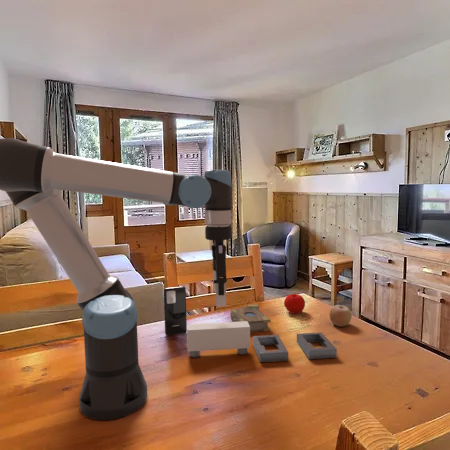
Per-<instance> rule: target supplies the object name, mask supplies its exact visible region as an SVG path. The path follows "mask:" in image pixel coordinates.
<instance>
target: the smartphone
mask: <svg viewBox="0 0 450 450" xmlns="http://www.w3.org/2000/svg"><path fill="white" fill-rule="evenodd" d="M186 290H187V288H186V286H173V287H165V288H164V289H163V309H164V312H163V313H164V314H163V315H164V334H165V335H166V336H172V335H173V336H174V335H180V334H181V335H182V334H187V324H188V322H187V321H188V320H187V293H186V292H187V291H186Z"/></svg>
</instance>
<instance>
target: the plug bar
mask: <svg viewBox="0 0 450 450" xmlns="http://www.w3.org/2000/svg"><path fill="white" fill-rule="evenodd" d="M186 338H187V340H186V341H187V352H188V353H189V357H190V358H198V357H200V356H201V352H203V351H218V350H219V351H220V350H221V351H222V350H236V351H237V354H238V355H246V354H248V349H251V332H250V326H249V323H248V321H241V322H234V321H226V322H225V321H223V322H209V323H208V322H205V323H187V332H186Z"/></svg>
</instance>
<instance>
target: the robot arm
mask: <svg viewBox="0 0 450 450" xmlns="http://www.w3.org/2000/svg"><path fill="white" fill-rule="evenodd" d="M232 188H233V184H232V174H231V172H230V171H229V170H227V169H207V170H205V171H204V175H203V176H202V175H200V174H196V173H192V174H191V173H190V174H188V173H181V172H173V171H168V170H164V169H163V170H162V169H158V168H152V167H151V168H149V167H143V166H138V165H133V164H132V165H131V164H125V163H119V162H112V161H106V160H99V159H94V158H87V157H83V156H74V155H69V154H62V153H57V152H55V151H54V150H53V149H52V147H48V146H43V145H38V144H33V143H31V142H27V141H24V140H20V139H18V138H13V137H5V138H3V137H2V138H0V190H1V191H3V192H5V193H6V194H7V196H8V198H9V199H10V201H11V202H12V204H13V206H14V207H15V208H17V209H20V210H24V211H26V213H27V214H28V216H29V217H30V219H31V220H32V222H33V224H34V225H35V227H36V228H37V230H38V232H39V233H40V234H41V236H42V238H43V239H44V240H45V242H46V244H47V246H48V247H49V248H50V251H52V253H53V255H54V256H55V258H56V260H57V261H58V263H59V264H60V266H61V267H62V269H63V271H64V273H66V275H67V277H68V278H69V280H70V281H71V283H72V284H73V286H74V288H75V289H76V291H77V292H78V293H77V297H76V303H77V305H78V306H79V308H80V310H81V311H82V316H81V317H82V318H81V324H82V327H83V338H84V339H83V340H84V341H83V343H84V359H85V363H84V364H85V375H84V379H83V382H82V386H81V390H80V393H79V401H78V402H79V410H80V413H81V414H82V415H83V416H85V418H86V417H87V418H89V419H90V420H91V419H92V420H95V421H97V420H99V421H109V420H116V419H120V418H123V417H126V416H127V415H131V414H132V413H134V412H135V411H137V410H139V409H141V407H142V406H143V405H144V404H145V403H146V401H147V399H148V385H147V381H146V379H145V376H144V375H143V372H142V369H141V366H140V364H139V341H138V340H139V338H138V310H137V307H136V304H135V303H136V302H135V301H134V298H133V296H132V294H131V293H130V292H129V291H128V290H127V289H126V288H125V287H124V286H123V283H122V281H121V280H120V278H119V277H118V276H116V275H112V274H110V273H108V271H107V269H106V267H105V266H104V264H103V262H102V261H101V259H100V258H99V256H98V255H97V254H98V253H97V252H96V251H95V249H94V248H93V246H92V244H91V242H90V241H89V239H88V238H87V236H86V234H85V233H84V231H83V230H82V228H81V225H80V224H79V222H78V221H77V220H76V218H75V216H74V215H73V213H72V212H71V210H70V208H69V206H68V205H67V203H66V202H65V200H64V198H63V197H62V194H61V191H67V192H76V193H82V194H88V195H89V194H90V195H97V196H98V195H99V196H105V197H113V198H120V199H121V198H122V199H128V200H136V201H142V202H143V201H144V202H151V203H152V202H153V203H160V204H163V205H165V206H173V207H175V206H181V207H187V208H191V209H198V208H201V207H202V206H204V224H205V225H206V226H205V228H204V230H205V231H204V236H205V240H209V241H212V244H211V247H210V248H211V255H212V264H211V265H212V293H215V307H217V308H219V307H227V281H228V279H227V264H226V260H227V253H226V252H227V245H226V244H224V242H225V241H229V240H231V239H232V236H233V230H232V229H233V227H232V226H231V225H232V223H233V221H232V219H233V218H232V217H234V213H232V197H233V196H232V191H233V189H232Z"/></svg>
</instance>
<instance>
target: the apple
mask: <svg viewBox="0 0 450 450" xmlns="http://www.w3.org/2000/svg"><path fill="white" fill-rule="evenodd" d="M283 304H284V307H285V309H286V310H287V312H288V313H290V314H294V315H297V314H300V313H302V312H304V310H305V307H306V301H305V298H304V297H303V296H302V295H300V294H297V293H292V294H288V295H287V296H286V297H285V298H284V300H283Z"/></svg>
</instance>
